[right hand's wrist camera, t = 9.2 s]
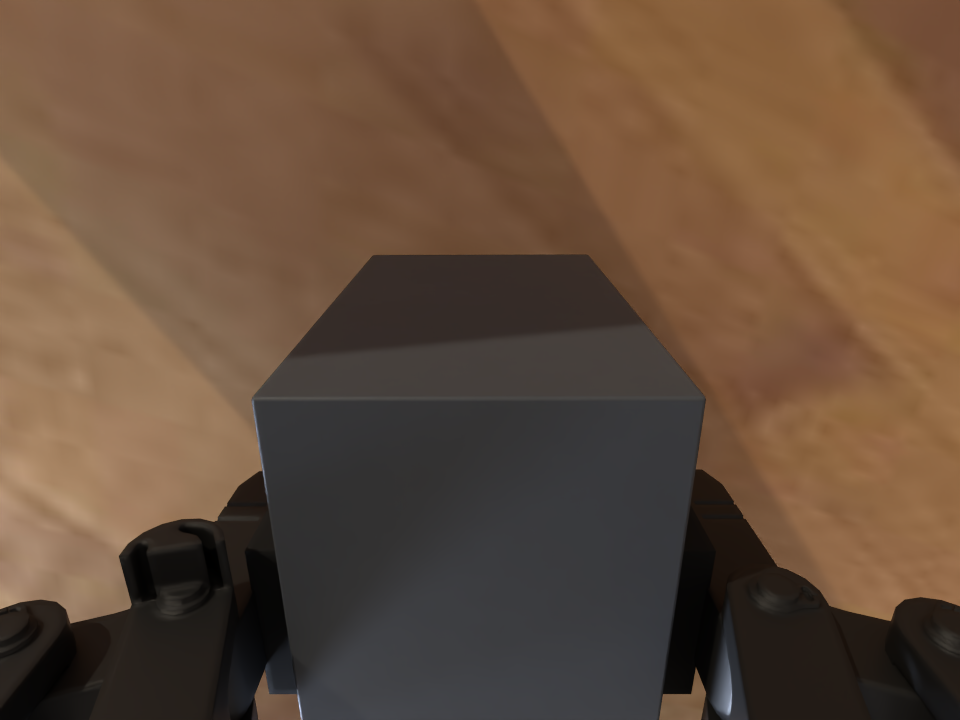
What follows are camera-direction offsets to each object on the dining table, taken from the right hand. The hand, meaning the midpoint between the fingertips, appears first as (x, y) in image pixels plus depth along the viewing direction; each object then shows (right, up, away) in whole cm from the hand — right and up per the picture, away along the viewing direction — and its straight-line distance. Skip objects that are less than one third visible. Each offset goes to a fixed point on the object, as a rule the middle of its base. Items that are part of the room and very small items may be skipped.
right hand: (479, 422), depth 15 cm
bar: (0, -20, +8) cm, 21 cm away
